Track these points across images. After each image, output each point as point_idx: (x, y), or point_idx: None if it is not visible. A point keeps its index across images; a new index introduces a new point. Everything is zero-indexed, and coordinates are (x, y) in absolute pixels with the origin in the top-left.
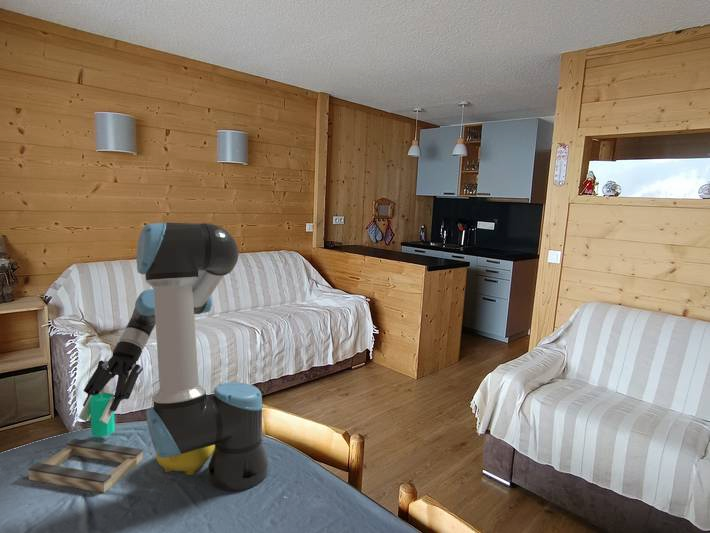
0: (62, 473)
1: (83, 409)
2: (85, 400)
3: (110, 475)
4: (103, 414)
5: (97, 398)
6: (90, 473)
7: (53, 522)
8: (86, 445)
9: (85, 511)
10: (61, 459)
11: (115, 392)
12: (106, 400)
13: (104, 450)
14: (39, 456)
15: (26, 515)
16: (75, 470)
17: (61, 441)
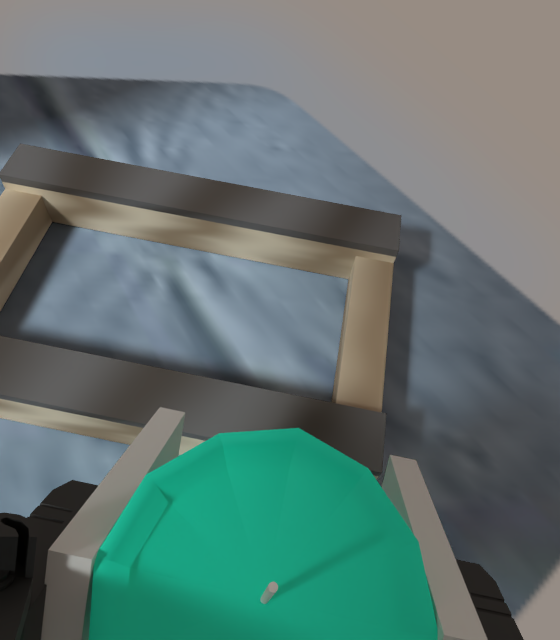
0: (225, 184)
1: (419, 498)
2: (509, 619)
3: (1, 172)
4: (158, 434)
5: (327, 590)
6: (99, 182)
7: (149, 90)
8: (250, 398)
9: (70, 118)
10: (341, 347)
11: (7, 634)
12: (139, 487)
13: (116, 362)
14: (497, 411)
15: (249, 112)
16: (180, 202)
17: (518, 584)
